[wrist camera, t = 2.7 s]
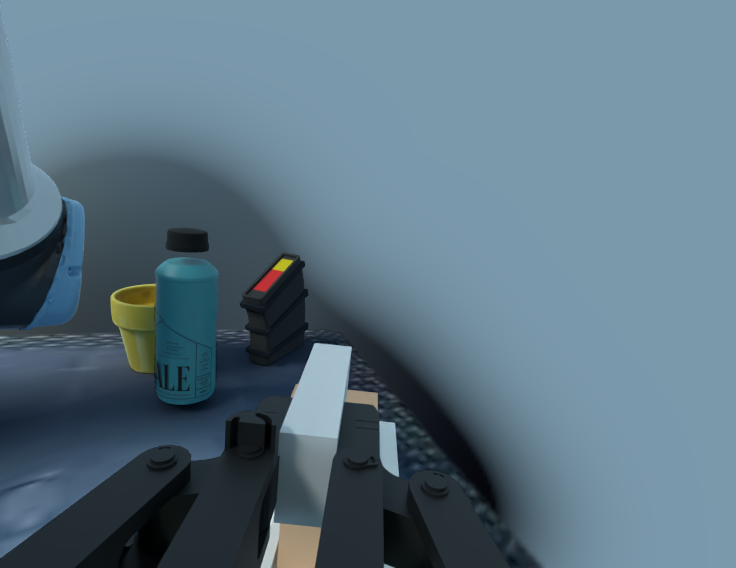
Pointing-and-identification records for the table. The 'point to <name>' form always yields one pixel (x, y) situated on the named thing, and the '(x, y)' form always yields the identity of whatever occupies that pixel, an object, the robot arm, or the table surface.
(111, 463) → the table surface
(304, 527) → the switch tab
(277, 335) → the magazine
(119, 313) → the plant pot
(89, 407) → the table surface
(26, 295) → the robot arm
